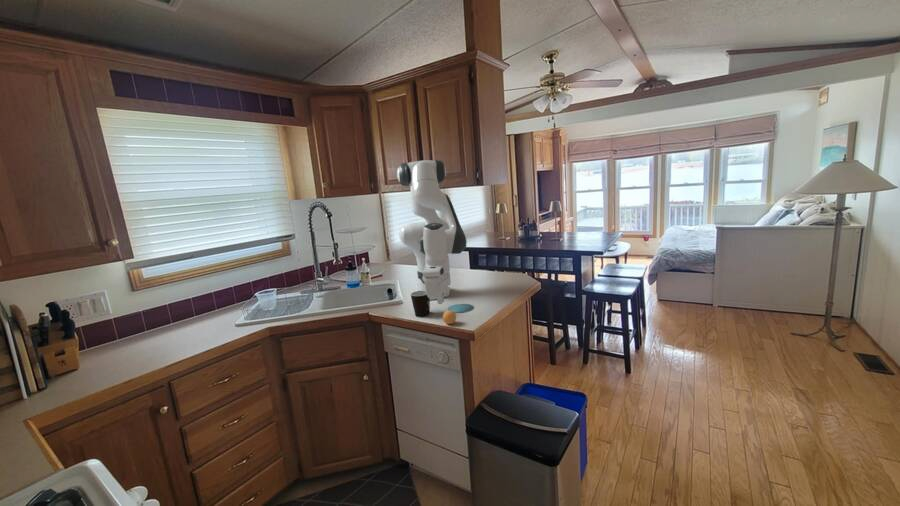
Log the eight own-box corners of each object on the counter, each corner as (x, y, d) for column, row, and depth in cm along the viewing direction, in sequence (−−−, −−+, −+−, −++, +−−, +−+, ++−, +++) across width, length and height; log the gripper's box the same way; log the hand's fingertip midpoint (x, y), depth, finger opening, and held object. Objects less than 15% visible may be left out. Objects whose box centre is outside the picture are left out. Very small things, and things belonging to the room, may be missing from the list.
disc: (451, 304, 175) (451, 303, 175) (475, 304, 172) (475, 303, 172) (444, 312, 163) (444, 312, 163) (470, 312, 160) (470, 312, 160)
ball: (445, 321, 153) (444, 308, 152) (458, 321, 151) (457, 308, 150) (441, 326, 148) (440, 313, 147) (455, 326, 146) (453, 313, 145)
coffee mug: (423, 319, 158) (421, 296, 156) (408, 316, 163) (406, 294, 161) (440, 310, 167) (438, 289, 165) (425, 308, 172) (423, 288, 170)
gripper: (437, 262, 147) (440, 295, 149) (420, 273, 127) (424, 311, 129) (452, 261, 145) (455, 294, 147) (438, 273, 125) (441, 311, 128)
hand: (441, 302), depth 138 cm, fingers closed
